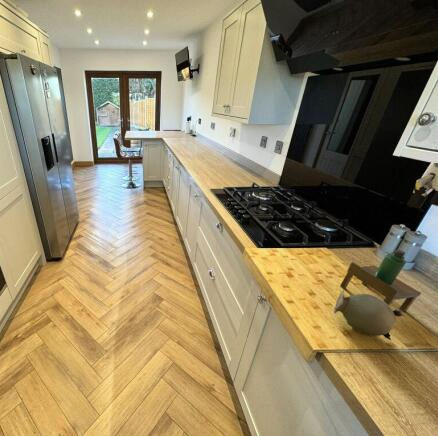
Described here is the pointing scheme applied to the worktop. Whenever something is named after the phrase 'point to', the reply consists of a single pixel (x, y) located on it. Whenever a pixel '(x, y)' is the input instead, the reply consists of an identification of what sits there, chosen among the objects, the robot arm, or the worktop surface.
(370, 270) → the rack
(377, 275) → the bottle
